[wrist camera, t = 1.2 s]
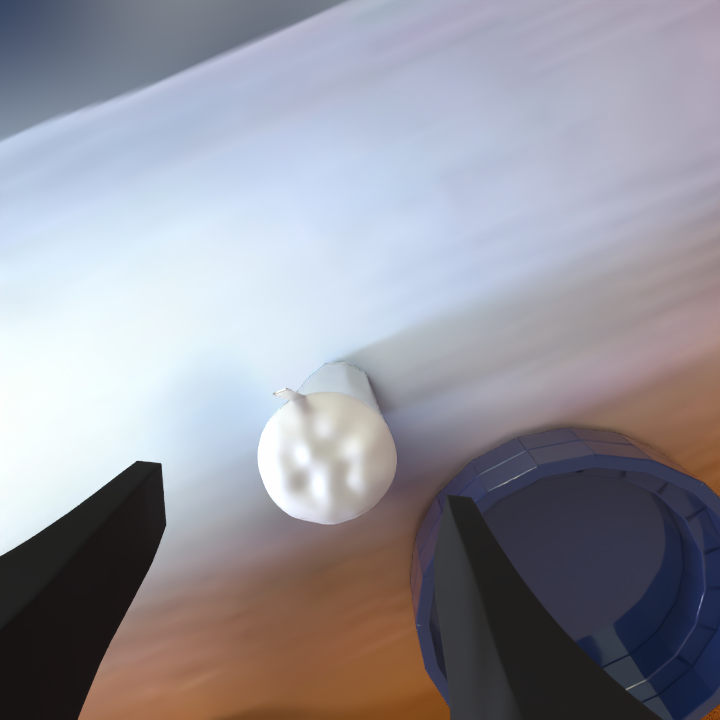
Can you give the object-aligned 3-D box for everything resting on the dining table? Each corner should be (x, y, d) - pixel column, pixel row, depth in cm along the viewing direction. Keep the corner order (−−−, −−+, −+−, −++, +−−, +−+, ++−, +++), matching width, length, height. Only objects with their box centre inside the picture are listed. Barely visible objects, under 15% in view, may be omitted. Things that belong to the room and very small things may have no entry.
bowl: (672, 705, 29) (719, 776, 26) (394, 677, 29) (398, 745, 25) (741, 441, 26) (806, 476, 23) (431, 408, 26) (442, 438, 22)
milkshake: (359, 315, 25) (354, 361, 16) (401, 420, 26) (422, 524, 17) (267, 352, 26) (207, 418, 16) (312, 453, 27) (282, 574, 17)
